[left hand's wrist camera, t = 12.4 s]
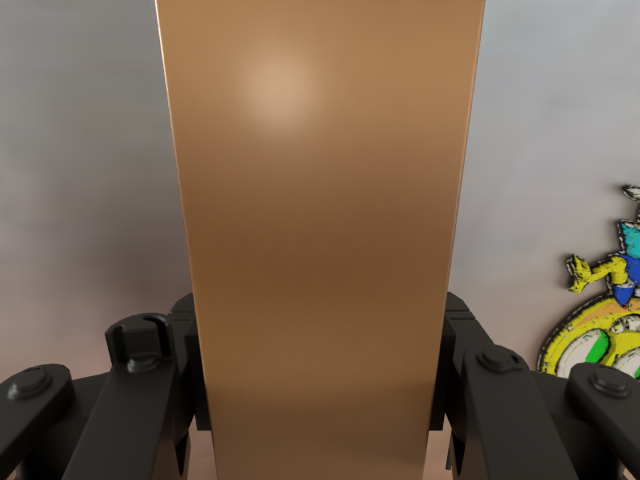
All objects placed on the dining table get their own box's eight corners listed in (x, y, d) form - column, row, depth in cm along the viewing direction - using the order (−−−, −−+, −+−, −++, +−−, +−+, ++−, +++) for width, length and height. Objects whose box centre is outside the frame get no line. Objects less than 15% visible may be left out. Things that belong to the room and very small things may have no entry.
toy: (797, 232, 19) (639, 442, 24) (777, 227, 20) (629, 431, 25) (623, 181, 18) (496, 411, 23) (610, 178, 19) (490, 400, 24)
